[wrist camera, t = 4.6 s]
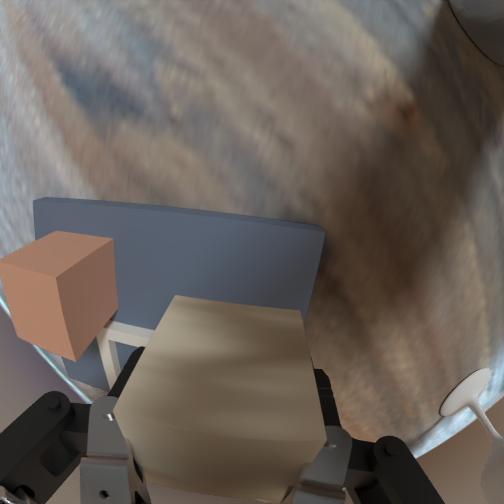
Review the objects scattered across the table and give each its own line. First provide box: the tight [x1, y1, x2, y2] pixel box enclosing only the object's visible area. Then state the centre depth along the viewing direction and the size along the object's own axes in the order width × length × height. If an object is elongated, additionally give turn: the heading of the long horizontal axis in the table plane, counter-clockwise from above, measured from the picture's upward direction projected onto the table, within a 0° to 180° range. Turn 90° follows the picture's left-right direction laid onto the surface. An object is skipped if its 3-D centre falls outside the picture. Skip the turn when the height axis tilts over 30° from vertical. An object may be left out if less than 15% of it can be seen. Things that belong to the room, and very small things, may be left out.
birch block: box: [113, 295, 327, 500], centre depth 9 cm, size 5×5×6 cm
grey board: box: [33, 197, 326, 392], centre depth 18 cm, size 20×17×2 cm
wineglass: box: [441, 368, 504, 504], centre depth 13 cm, size 9×9×21 cm
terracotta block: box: [0, 231, 118, 362], centre depth 13 cm, size 5×5×6 cm
